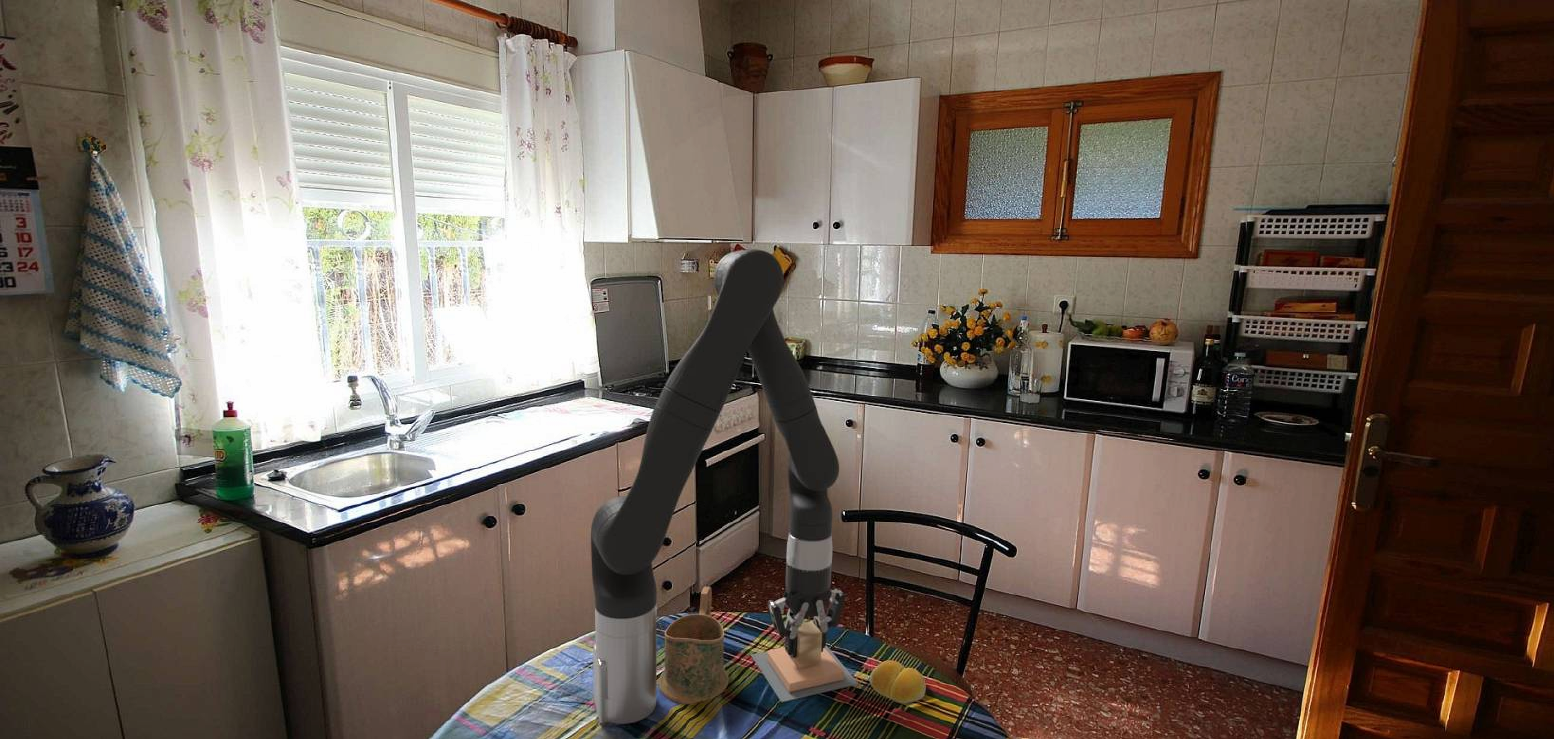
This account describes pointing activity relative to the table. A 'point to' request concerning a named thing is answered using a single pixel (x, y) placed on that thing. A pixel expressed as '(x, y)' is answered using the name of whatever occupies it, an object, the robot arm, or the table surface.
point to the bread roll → (898, 682)
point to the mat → (786, 695)
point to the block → (808, 646)
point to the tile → (804, 670)
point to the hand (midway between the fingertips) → (805, 652)
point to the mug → (694, 656)
